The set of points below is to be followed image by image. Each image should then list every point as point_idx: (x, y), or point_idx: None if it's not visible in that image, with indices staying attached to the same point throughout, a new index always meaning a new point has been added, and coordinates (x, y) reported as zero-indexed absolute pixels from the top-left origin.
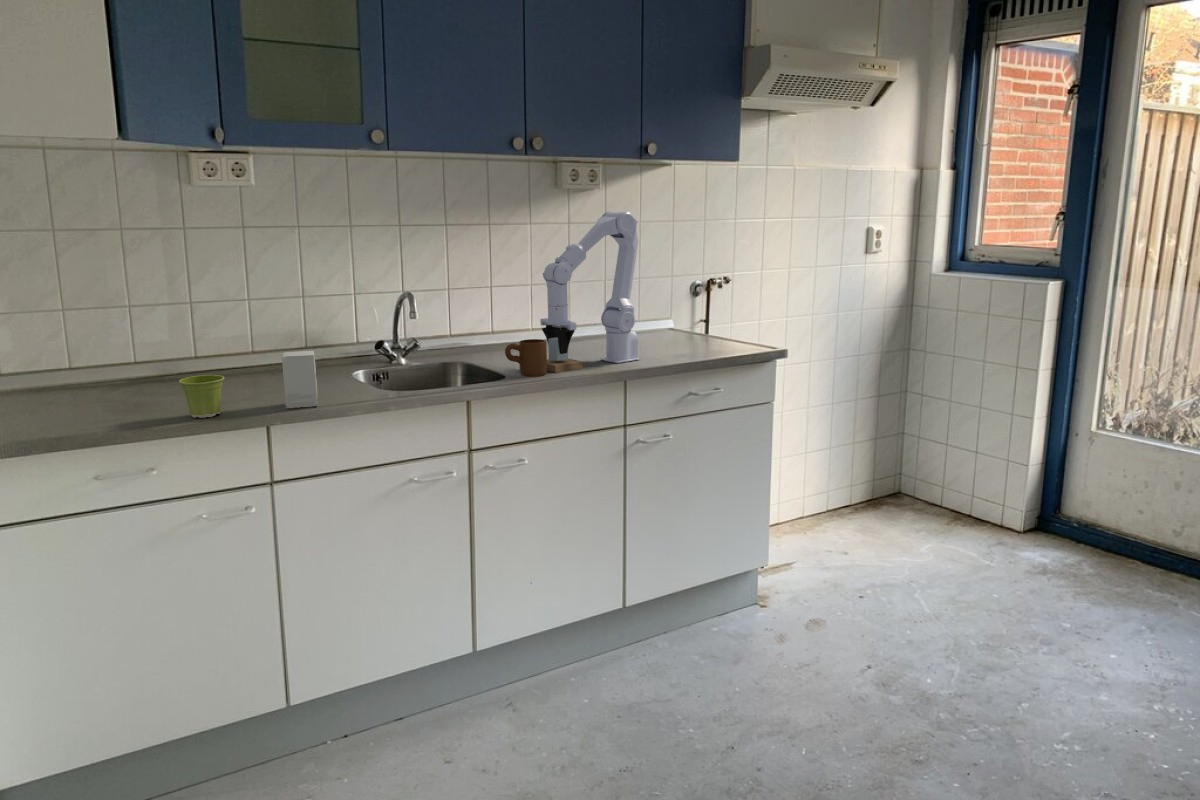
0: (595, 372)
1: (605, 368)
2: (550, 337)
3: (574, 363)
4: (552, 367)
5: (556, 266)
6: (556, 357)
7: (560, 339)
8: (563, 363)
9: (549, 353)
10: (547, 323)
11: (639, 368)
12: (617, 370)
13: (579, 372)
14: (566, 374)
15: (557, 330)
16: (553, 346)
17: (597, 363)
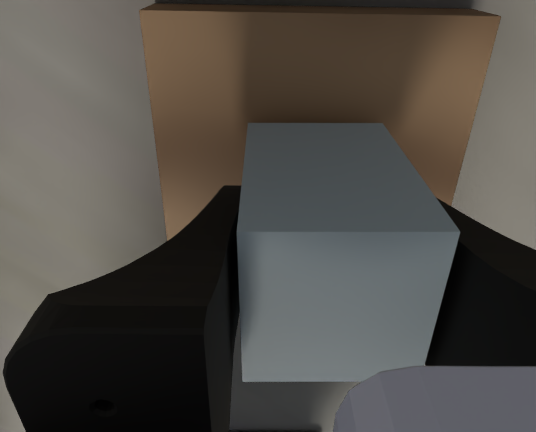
0: (7, 234)
1: None
2: (466, 282)
3: (165, 219)
4: (195, 9)
5: None
6: (258, 133)
7: (156, 253)
8: (198, 145)
9: (383, 144)
10: (462, 394)
11: (7, 429)
12: (7, 345)
13: (64, 160)
14: (36, 30)
15: (103, 325)
16: (316, 182)
17: (263, 387)
